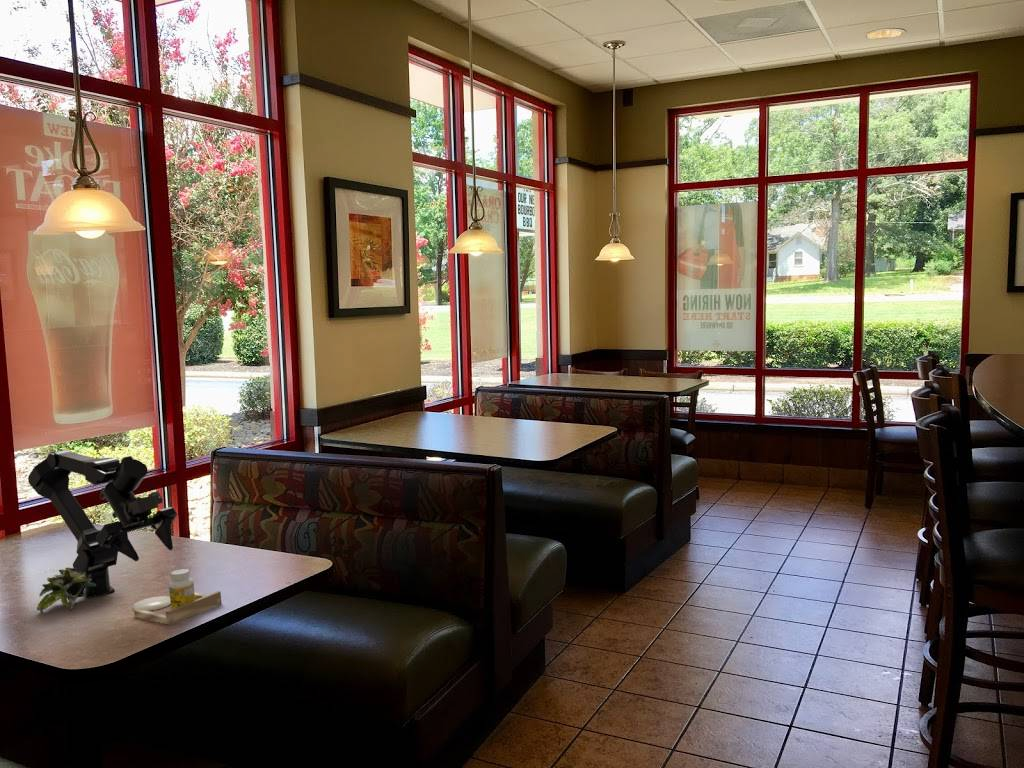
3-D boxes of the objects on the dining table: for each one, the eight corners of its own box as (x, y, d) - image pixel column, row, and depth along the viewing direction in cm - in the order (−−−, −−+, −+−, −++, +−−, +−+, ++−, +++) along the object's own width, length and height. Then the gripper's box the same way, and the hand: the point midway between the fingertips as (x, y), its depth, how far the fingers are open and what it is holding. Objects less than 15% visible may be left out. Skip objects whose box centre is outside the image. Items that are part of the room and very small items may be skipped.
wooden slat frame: (134, 616, 191) (133, 604, 190) (186, 596, 203) (185, 584, 203) (169, 625, 184) (168, 612, 184) (221, 603, 197) (220, 591, 197)
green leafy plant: (73, 622, 204) (98, 576, 208) (79, 627, 195) (105, 579, 200) (27, 606, 199) (54, 559, 203) (31, 610, 190) (59, 561, 195)
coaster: (128, 605, 199) (127, 603, 199) (166, 595, 205) (166, 593, 205) (139, 614, 192) (139, 612, 192) (178, 604, 198) (178, 602, 198)
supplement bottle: (200, 609, 194) (197, 569, 193) (181, 617, 189) (178, 576, 188) (185, 605, 197) (182, 566, 196) (166, 613, 192) (162, 573, 191)
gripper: (101, 491, 188) (134, 546, 184) (171, 475, 204) (202, 525, 200) (82, 519, 193) (113, 573, 189) (152, 501, 209) (182, 550, 205)
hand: (155, 554), depth 196 cm, fingers open, 9 cm apart
